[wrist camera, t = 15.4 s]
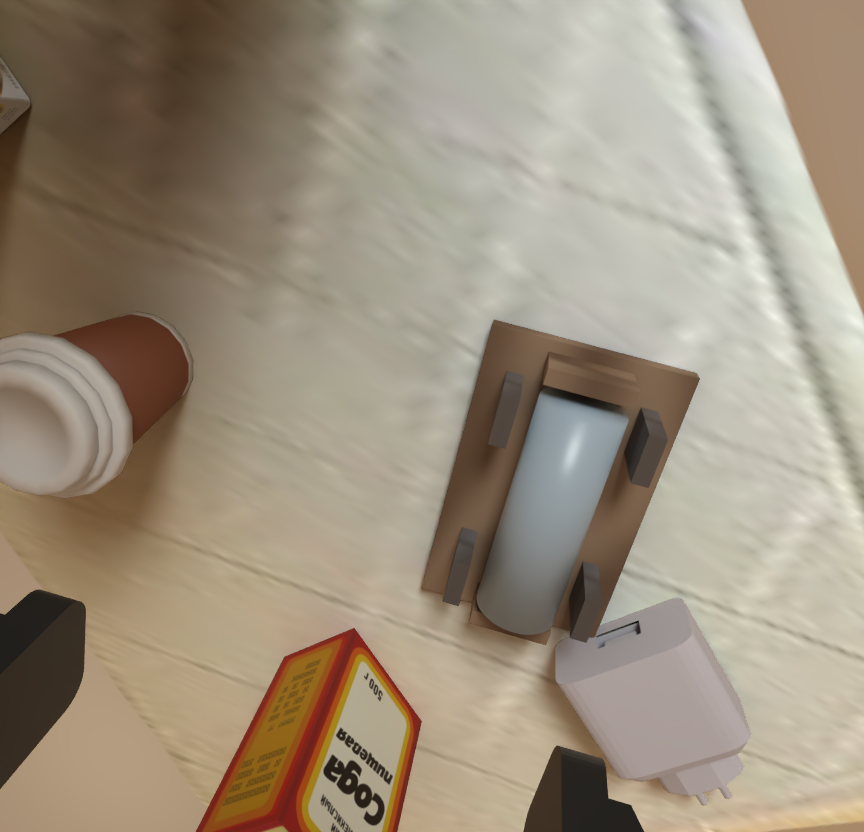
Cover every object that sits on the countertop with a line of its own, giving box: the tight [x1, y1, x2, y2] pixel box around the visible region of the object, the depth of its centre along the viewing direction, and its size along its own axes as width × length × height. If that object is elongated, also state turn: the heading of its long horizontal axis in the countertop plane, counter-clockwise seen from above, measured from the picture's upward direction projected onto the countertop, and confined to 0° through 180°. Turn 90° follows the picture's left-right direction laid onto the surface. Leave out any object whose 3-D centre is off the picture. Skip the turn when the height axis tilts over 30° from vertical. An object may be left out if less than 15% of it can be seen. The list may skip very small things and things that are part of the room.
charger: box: [555, 598, 751, 805], centre depth 48 cm, size 5×9×15 cm
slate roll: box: [477, 387, 629, 635], centre depth 42 cm, size 14×5×5 cm, turn 167°
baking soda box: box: [196, 628, 422, 832], centre depth 47 cm, size 10×6×16 cm
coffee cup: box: [0, 312, 193, 498], centre depth 41 cm, size 9×9×12 cm
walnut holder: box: [422, 320, 700, 645], centre depth 43 cm, size 12×19×5 cm, turn 167°
